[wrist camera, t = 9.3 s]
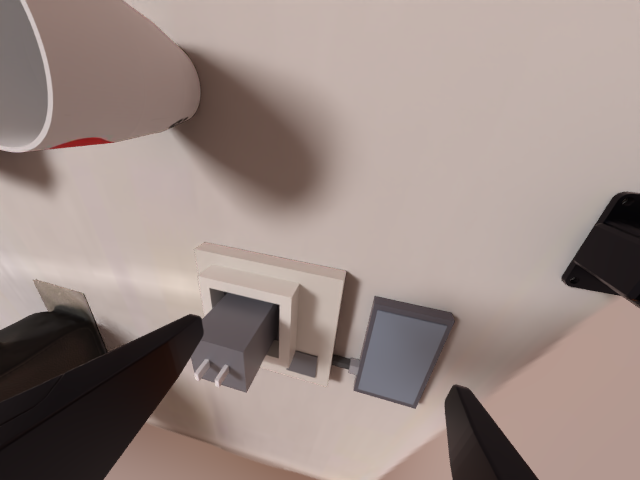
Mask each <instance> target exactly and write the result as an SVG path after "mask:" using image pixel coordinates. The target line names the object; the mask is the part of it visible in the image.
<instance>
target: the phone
mask: <svg viewBox="0 0 640 480" xmlns="http://www.w3.org/2000/svg"><path fill="white" fill-rule="evenodd" d="M454 322H455V321H454V318H453V315H452V313H450V312H445V311H440V310H436V309H431V308H427V307H422V306H417V305H413V304H408V303H404V302H399V301H394V300H390V299H385V298H381V297H376V296H375V297H374V301H373V305H372V310H371V314H370V318H369V322H368V327H367V331H366V335H365V339H364V344H363V348H362V352H361V356H360V362H359V369H358V373H357V375H356V378H355V382H354V391H357V392H360V393H363V394H367V395H370V396H374V397H377V398H381V399H384V400H387V401H391V402H394V403H398V404H401V405H405V406H408V407H412V408H415V409H416V407H417V404H418V402H419V400H420V398H421V395H422V393H423V391H424V389H425V387H426V384H427V382H428V380H429V378H430V375H431V373H432V371H433V369H434V366H435V364H436V362H437V360H438V358H439V355H440V353H441V351H442V349H443V346H444V344H445V342H446V340H447V337H448V335H449V333H450V331H451V329H452V326H453V324H454Z"/></svg>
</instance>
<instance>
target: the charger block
mask: <svg viewBox="0 0 640 480" xmlns="http://www.w3.org/2000/svg"><path fill="white" fill-rule="evenodd" d="M277 305H278V304H274V303H270V302H266V301H262V300H258V299H253V298H249V297H245V296H241V295H237V294H233V293H229V292H228V293H227V294H226V295H225V296H224V297H223V298H222V299H221V300H220V301H219V302H218V303H217V304H216V305H215V306H214V307H213V309H212V310H211V311H210V312H209V313H208V314H207V315H206V316H205V317H204V318H203V319H202V323H203V329H204V335H203V337H202V339H201V341H200V343H199V344H198V346H197V348H196V349H195V351H194V353H193V354H192V356H191V360H192V364H193V368H194V375H195V380H198V381H200V379H201V378H202V379H205V380H208V381H211V382H214V383H215V386H217V387H220V386H221V385H224V386H227V387H230V388H233V389H237V390H240V391H243V392H246V393H247V391H248V389H249V387H250V385H251V383H252V381H253V379H254V377H255V376H256V374H257V372H258V370H259V368H260V366H261V364H262V362H263V360H264V358H265V356H266V354H267V353H268V351H269V349H270V347H271V345H272V343H273V341H274V339H275V337H276V335H277Z"/></svg>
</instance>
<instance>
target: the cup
mask: <svg viewBox="0 0 640 480" xmlns="http://www.w3.org/2000/svg"><path fill="white" fill-rule="evenodd" d="M200 95H201V90H200V82H199V78H198V74H197V72H196V69H195V67H194V65H193V63H192V61H191V60H190V58H189V57H188V56H187V55H186V53H185V52H184V51H183V50H181V49H180V48H179V47H178V46H177V45H176V44H175V43H174V42H173V41H172V40H171V39H170V38H169V37H168V36H167V35H166V34H165V33H164V32H163V31H162V30H161V29H160V28H158V27H157V26H156V25H155V24H154V23H153V22H152V21H150V20H149V19H148V18H146V17H145V16H144V15H142V14H141V13H139V12H138V11H137V10H135V9H134V8H132V7H131V6H130V5H128V4H127V3H126V2H124V1H123V0H0V150H4V151H8V152H28V151H38V150H47V149H57V148H67V147H76V146H86V145H96V144H105V143H114V142H119V141H124V140H128V139H132V138H137V137H141V136H145V135H150V134H154V133H159V132H163V131H165V130H167V129H170V128H172V127H174V126H176V125H178V124H180V123H182V122H184V121H186V120H188V119H190V118H191V117H192V116H193V115H194V114H195V112H196V111H197V109H198V106H199V102H200Z"/></svg>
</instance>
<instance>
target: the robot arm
mask: <svg viewBox="0 0 640 480" xmlns="http://www.w3.org/2000/svg"><path fill="white" fill-rule="evenodd" d="M626 198H628V199H627V201H626V202H625V203H623V204H622V202H623V200H624V199H626ZM574 277H575V279H573V280H571V279H572V278H574ZM562 281H563V282H564V283H565V284H567V285H568V286H571V287H576V288H581V289H587V290H592V291H598V292H603V293H608V294H614V295H619V296H622V297H624V298H626V299H627V300H628V301H630V302H631V303H633V304H634V305H635V306H637V307H639V308H640V193H633V192H621V193H618V194H617V195H615V196H614V197H613V198H612V199H611V201H610V202H609V204H608V205H607V207H606V209H605V210H604V212H603V213H602V215H601V216H600V218H599V219H598V221H597V223H596V224H595V226H594V227H593V229H592V230H591V232H590V233H589V235H588V237H587V238H586V240H585V241H584V243H583V244H582V246H581V247H580V249H579V251H578V252H577V254H576V255H575V257H574V258H573V260H572V261H571V263H570V265H569V266H568V268H567V269H566V271H565V272H564V274H563V276H562ZM203 335H204V329H203V323H202V318H201V317H200V316H197V315H193V314H189V315H187V316H185V317H182V318H180V319H178V320H176V321H174V322H172V323H170V324H168V325H165V326H163V327H161V328H159V329H157V330H155V331H153V332H151V333H148V334H146V335H144V336H142V337H140V338H138V339H136V340H134V341H131V342H129V343H127V344H125V345H123V346H121V347H119V348H117V349H114V350H112V351H110V352H108V353H106V354H104V355H102V356H100V357H97V358H95V359H93V360H91V361H89V362H87V363H85V364H83V365H80V366H78V367H76V368H74V369H72V370H70V371H68V372H66V373H65V374H64V375H63V374H61V375H59V376H57V377H55V378H53V379H51V380H48V381H46V382H44V383H42V384H40V385H38V386H35V387H33V388H31V389H29V390H27V391H24V392H22V393H20V394H18V395H16V396H13V397H11V398H9V399H6V400H4V401H2V402H0V480H104V478H105V477H106V475H107V474H108V473H109V471H110V470H111V468H112V467H113V466H114V464H115V463H116V462H117V460H118V459H119V458H120V456H121V455H122V454H123V452H124V451H125V449H126V448H127V447H128V445H129V444H130V443H131V441H132V440H133V439H134V437H135V436H136V434H137V433H138V432H139V430H140V429H141V427H142V426H143V425H144V424H145V422H146V421H147V419H148V418H149V417H150V415H151V414H152V413H153V411H154V410H155V409H156V407H157V406H158V404H159V403H160V402H161V400H162V399H163V398H164V396H165V395H166V394H167V392H168V391H169V389H170V388H171V387H172V385H173V384H174V383H175V381H176V380H177V378H178V377H179V375H180V374H181V372H182V371H183V369H184V367H185V366H186V364H187V362H188V361H189V359H190V357H191V356H192V354H193V353H194V351H195V349H196V348H197V346H198V344H199V343H200V341H201V339H202V337H203ZM445 416H446V427H447V437H448V448H449V458H450V466H451V472H452V477H453V480H539V479H538V478H537V477H536V475H535V474H534V473H533V471H532V470H531V469H530V467H529V466H528V465H527V464H526V462H525V461H524V460H523V458H522V457H521V456H520V455H519V453H518V452H517V450H516V449H515V448H514V446H513V445H512V444H511V443H510V441H509V440H508V439H507V437H506V436H505V435H504V433H503V432H502V431H501V429H500V428H499V427H498V426H497V424H496V423H495V422H494V420H493V419H492V418H491V416H490V415H489V414H488V412H487V411H486V410H485V408H484V407H483V406H482V404H481V403H480V402H479V401H478V399H477V398H476V397H475V395H474V394H473V393H472V391H471V390H470V389H469V388H467V387H464V386H460V385H453V386H452V388H451V390H450V392H449V394H448V395H447V397H446V400H445Z"/></svg>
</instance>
